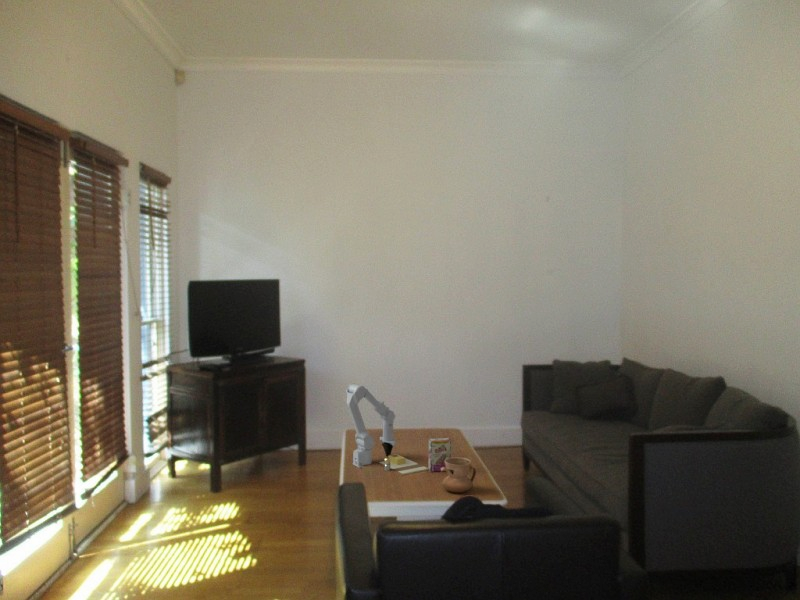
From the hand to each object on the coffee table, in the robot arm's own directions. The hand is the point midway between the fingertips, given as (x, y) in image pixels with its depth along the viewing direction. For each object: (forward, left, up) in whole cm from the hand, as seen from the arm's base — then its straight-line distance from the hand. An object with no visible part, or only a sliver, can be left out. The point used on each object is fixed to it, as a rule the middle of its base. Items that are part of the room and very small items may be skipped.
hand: (388, 456), depth 372 cm
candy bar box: (+13, -31, -2) cm, 34 cm away
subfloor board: (0, -16, -2) cm, 16 cm away
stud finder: (0, -9, -1) cm, 9 cm away
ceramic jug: (+3, -61, -2) cm, 61 cm away
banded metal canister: (-11, -18, -2) cm, 21 cm away
